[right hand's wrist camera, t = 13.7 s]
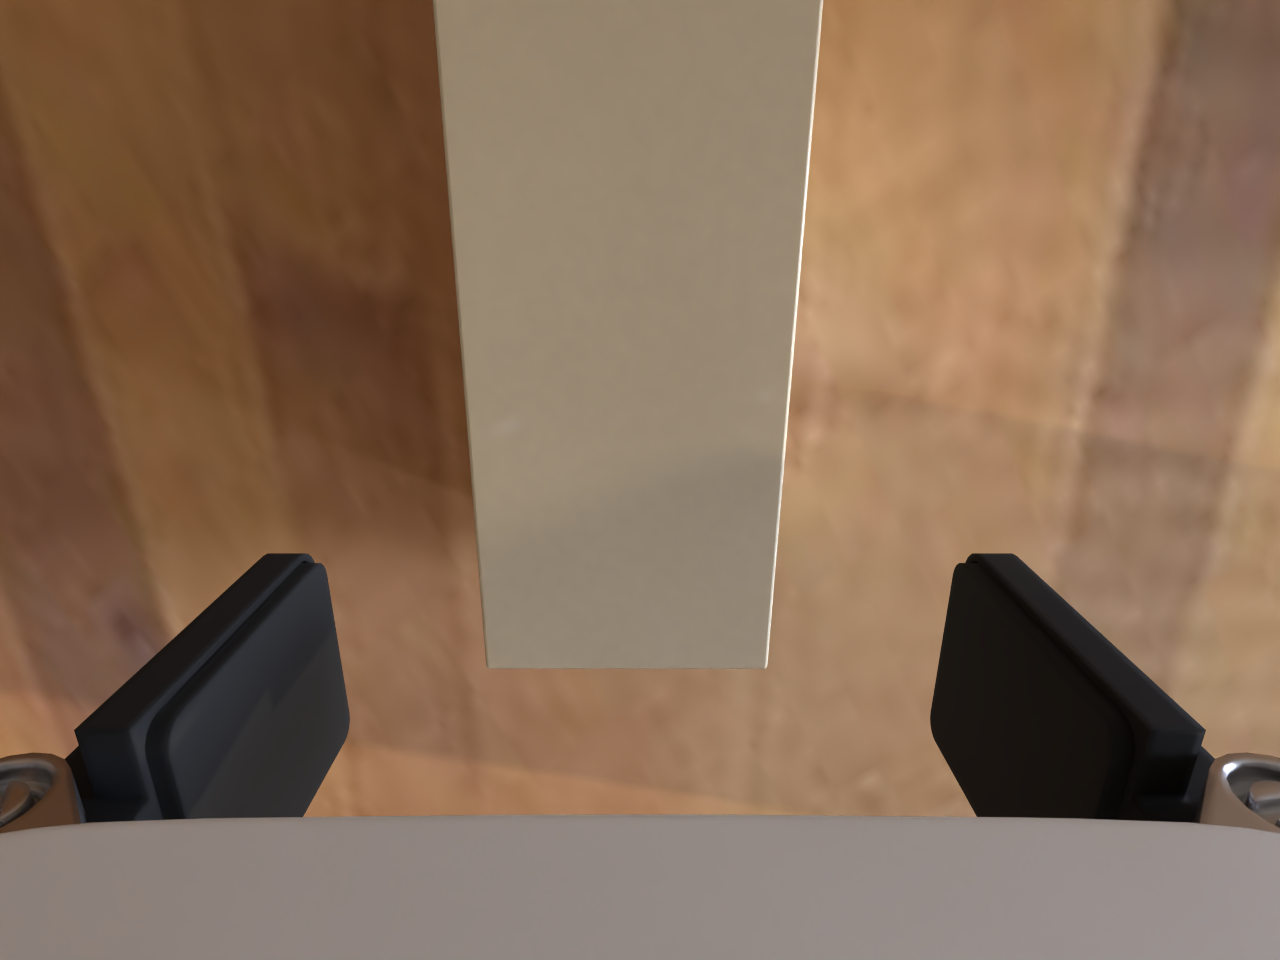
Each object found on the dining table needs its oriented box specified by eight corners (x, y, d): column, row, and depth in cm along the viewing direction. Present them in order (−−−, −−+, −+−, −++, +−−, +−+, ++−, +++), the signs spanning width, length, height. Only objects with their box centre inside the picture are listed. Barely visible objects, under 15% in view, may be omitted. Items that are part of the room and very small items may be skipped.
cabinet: (487, -351, 16) (365, -806, 9) (774, -347, 16) (892, -795, 9) (531, 520, 24) (485, 670, 16) (726, 521, 24) (768, 670, 16)
